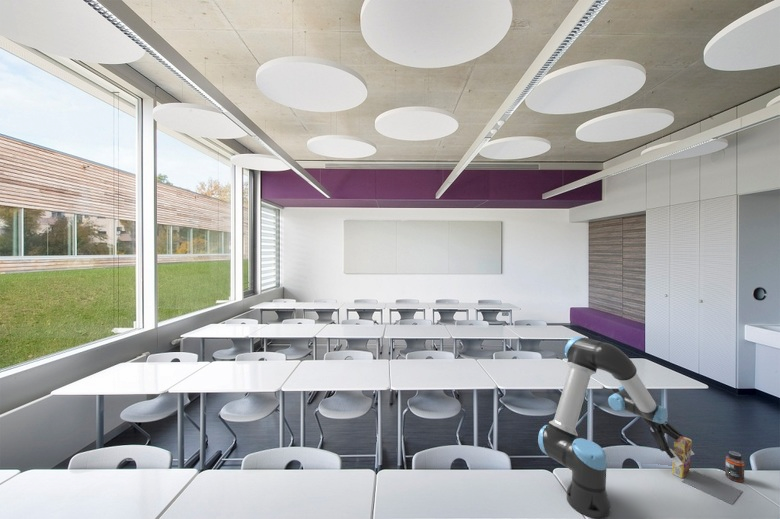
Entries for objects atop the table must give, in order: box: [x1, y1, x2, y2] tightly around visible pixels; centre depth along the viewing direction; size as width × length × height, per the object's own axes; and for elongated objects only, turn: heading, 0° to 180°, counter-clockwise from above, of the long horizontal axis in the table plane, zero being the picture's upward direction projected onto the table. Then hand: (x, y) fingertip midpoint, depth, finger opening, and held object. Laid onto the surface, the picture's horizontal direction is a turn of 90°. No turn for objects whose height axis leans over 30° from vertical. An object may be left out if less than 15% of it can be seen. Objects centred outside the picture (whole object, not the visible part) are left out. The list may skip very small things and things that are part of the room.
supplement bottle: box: [724, 450, 745, 483], centre depth 155 cm, size 6×6×11 cm
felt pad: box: [681, 470, 743, 505], centre depth 149 cm, size 16×14×1 cm
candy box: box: [671, 436, 693, 479], centre depth 158 cm, size 9×4×15 cm, turn 123°
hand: (686, 460), depth 157 cm, fingers open, 13 cm apart
